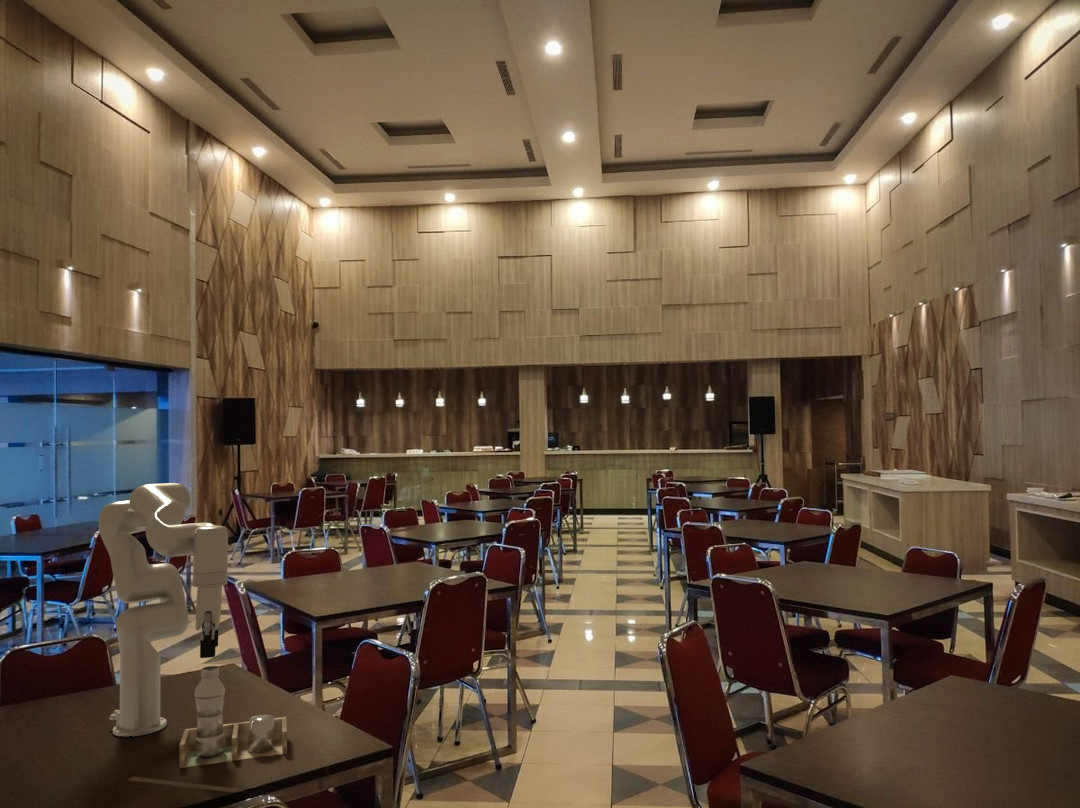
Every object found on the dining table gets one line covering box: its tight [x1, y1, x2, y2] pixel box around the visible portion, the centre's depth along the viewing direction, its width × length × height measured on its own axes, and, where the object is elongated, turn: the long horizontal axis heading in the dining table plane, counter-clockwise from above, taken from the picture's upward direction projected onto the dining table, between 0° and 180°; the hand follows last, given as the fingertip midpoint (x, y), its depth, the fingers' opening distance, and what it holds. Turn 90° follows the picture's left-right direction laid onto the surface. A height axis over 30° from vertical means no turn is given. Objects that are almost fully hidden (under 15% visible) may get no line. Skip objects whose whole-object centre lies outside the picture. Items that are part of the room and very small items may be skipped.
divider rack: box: [179, 716, 288, 769], centre depth 187 cm, size 23×11×6 cm, turn 109°
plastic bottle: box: [194, 665, 226, 757], centre depth 185 cm, size 6×7×20 cm
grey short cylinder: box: [248, 714, 276, 753], centre depth 188 cm, size 6×6×7 cm
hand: (209, 652), depth 186 cm, fingers open, 9 cm apart
